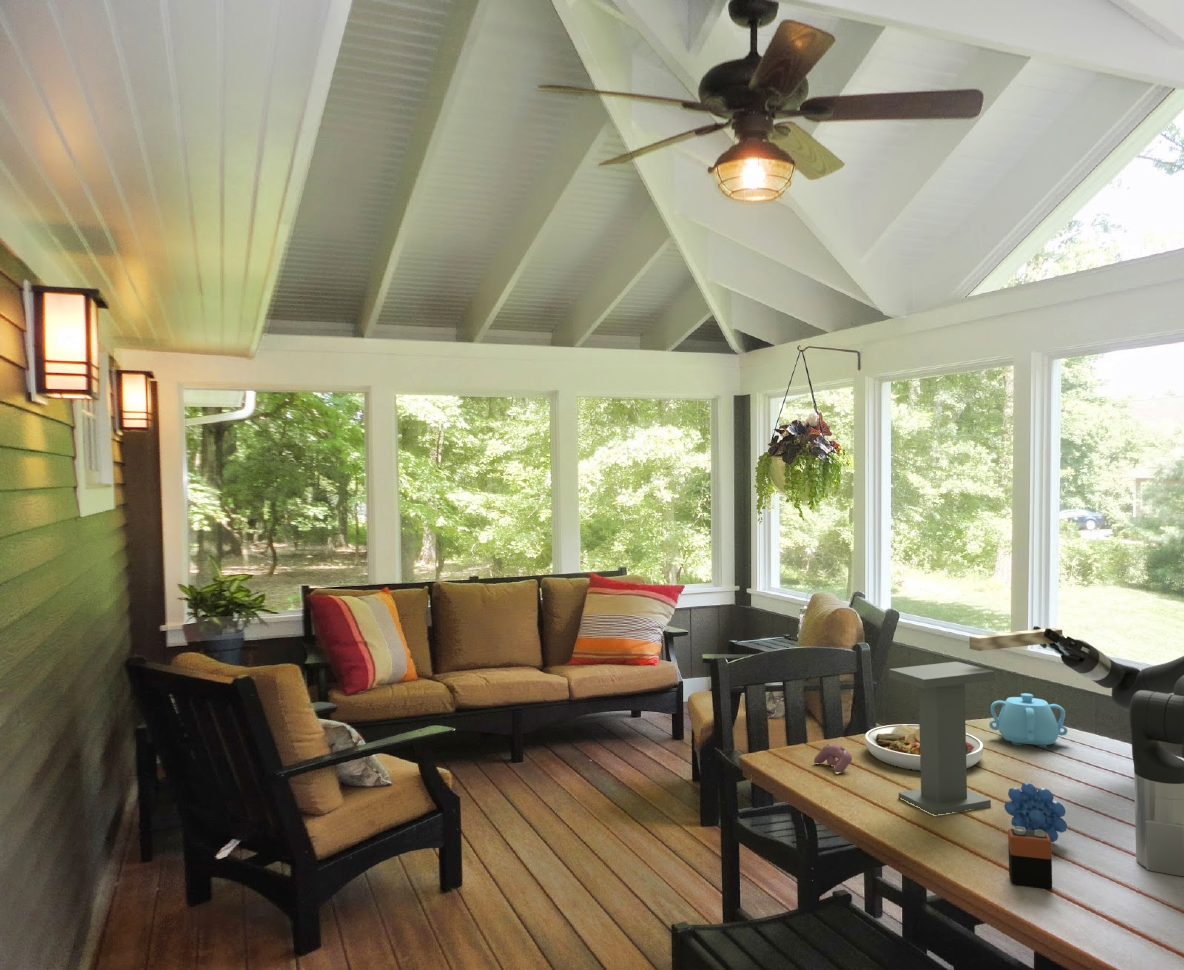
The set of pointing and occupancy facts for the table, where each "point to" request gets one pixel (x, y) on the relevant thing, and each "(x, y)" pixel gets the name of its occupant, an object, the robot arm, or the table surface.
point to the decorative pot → (1028, 721)
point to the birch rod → (1010, 639)
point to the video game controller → (834, 757)
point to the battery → (1030, 858)
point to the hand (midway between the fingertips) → (1039, 630)
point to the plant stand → (943, 735)
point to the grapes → (1036, 810)
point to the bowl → (910, 746)
